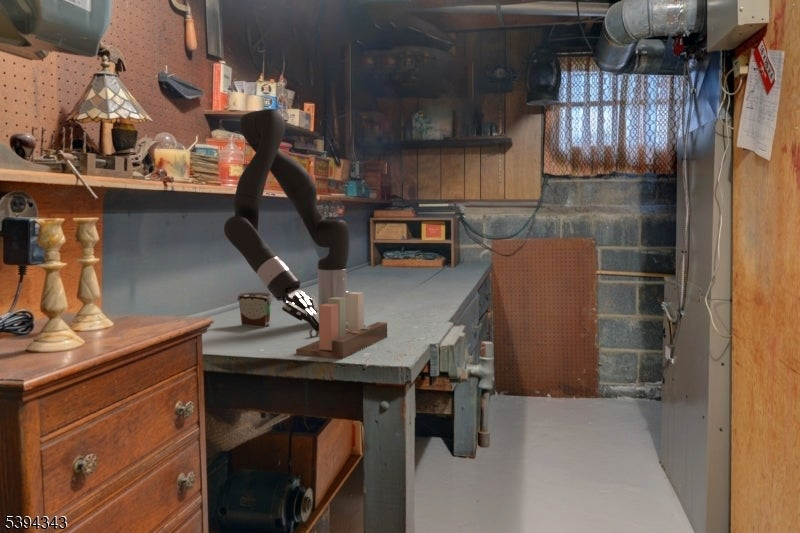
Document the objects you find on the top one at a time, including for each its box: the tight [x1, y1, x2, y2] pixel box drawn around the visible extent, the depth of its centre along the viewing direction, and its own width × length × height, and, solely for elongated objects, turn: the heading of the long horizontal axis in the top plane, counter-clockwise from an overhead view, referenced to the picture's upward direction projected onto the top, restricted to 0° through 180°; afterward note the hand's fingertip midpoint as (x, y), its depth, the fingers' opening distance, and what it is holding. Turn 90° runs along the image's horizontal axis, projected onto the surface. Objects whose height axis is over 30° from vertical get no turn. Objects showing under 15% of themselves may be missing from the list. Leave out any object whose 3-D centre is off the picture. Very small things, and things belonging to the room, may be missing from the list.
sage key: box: [328, 297, 347, 338], centre depth 161 cm, size 4×4×11 cm
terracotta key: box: [318, 304, 338, 350], centre depth 150 cm, size 4×4×11 cm
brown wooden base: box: [295, 321, 388, 359], centre depth 161 cm, size 13×27×4 cm, turn 158°
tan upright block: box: [346, 291, 365, 332], centre depth 171 cm, size 4×4×11 cm
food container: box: [237, 291, 274, 328], centre depth 190 cm, size 12×6×10 cm, turn 65°
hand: (320, 328), depth 151 cm, fingers closed
